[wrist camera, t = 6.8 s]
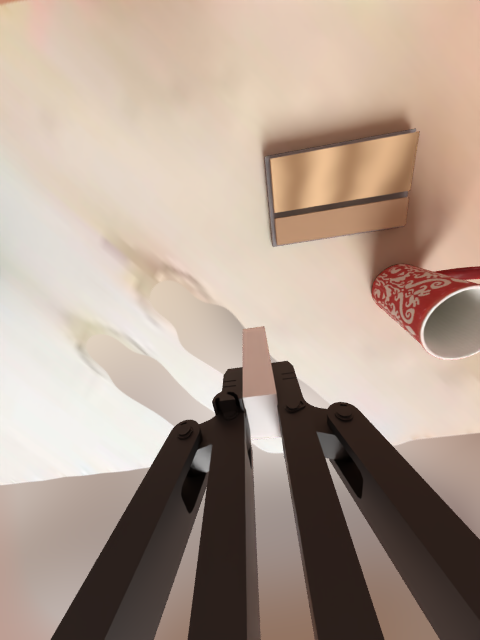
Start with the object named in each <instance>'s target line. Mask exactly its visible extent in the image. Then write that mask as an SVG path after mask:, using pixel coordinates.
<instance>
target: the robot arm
mask: <svg viewBox="0 0 480 640" xmlns="http://www.w3.org/2000/svg"><path fill="white" fill-rule="evenodd" d="M212 403H213V407H214V411H215V414H216V416H215V417H213V418H212V419H210V420H208V421H206V422H204V423H201V424H198V423H197V422H196V421H194V420H185V421H182V422H180V423H179V424H177V425H176V426H175V427H174V428H173V429H172V431H171V432H170V434H169V436H168V438H167V439H166V441H165V443H164V445H163V446H162V448H161V450H160V451H159V453H158V455H157V457H156V458H155V460H154V462H153V464H152V465H151V467H150V469H149V471H148V472H147V474H146V476H145V478H144V479H143V481H142V483H141V484H140V486H139V488H138V490H137V491H136V493H135V495H134V496H133V498H132V500H131V502H130V503H129V505H128V507H127V508H126V510H125V512H124V514H123V515H122V517H121V519H120V521H119V522H118V524H117V526H116V528H115V529H114V531H113V533H112V534H111V536H110V538H109V540H108V541H107V543H106V545H105V547H104V548H103V550H102V552H101V553H100V555H99V557H98V559H97V560H96V562H95V564H94V566H93V568H92V569H91V571H90V572H89V574H88V576H87V578H86V579H85V581H84V583H83V585H82V586H81V588H80V590H79V592H78V593H77V595H76V597H75V598H74V600H73V602H72V604H71V605H70V607H69V609H68V611H67V613H66V614H65V616H64V617H63V619H62V621H61V623H60V624H59V626H58V628H57V630H56V631H55V633H54V635H53V636H52V638H51V640H154V637H155V634H156V631H157V628H158V625H159V623H160V620H161V617H162V614H163V611H164V608H165V605H166V602H167V600H168V596H169V594H170V591H171V588H172V585H173V582H174V579H175V576H176V574H177V570H178V568H179V565H180V562H181V559H182V556H183V553H184V550H185V548H186V544H187V542H188V539H189V536H190V533H191V530H192V527H193V524H194V521H195V519H196V516H197V513H198V510H199V507H200V504H201V501H202V498H203V495H204V492H205V489H206V487H207V491H206V498H205V507H204V514H203V522H202V530H201V538H200V546H199V555H198V562H197V570H196V578H195V586H194V595H193V602H192V610H191V618H190V626H189V634H188V640H261V639H260V618H259V617H260V616H259V593H258V571H257V570H258V569H257V549H256V524H255V500H254V479H253V478H254V477H253V457H252V447H251V440H258V439H267V438H277V437H282V443H283V451H284V458H285V462H286V468H287V474H288V480H289V486H290V492H291V499H292V504H293V511H294V516H295V523H296V529H297V535H298V541H299V546H300V553H301V559H302V565H303V571H304V577H305V583H306V589H307V595H308V600H309V607H310V613H311V619H312V625H313V631H314V637H315V640H384V637H383V634H382V631H381V628H380V625H379V621H378V619H377V615H376V612H375V610H374V606H373V603H372V600H371V597H370V594H369V591H368V588H367V585H366V582H365V579H364V576H363V572H362V569H361V566H360V564H359V560H358V557H357V554H356V551H355V548H354V545H353V542H352V539H351V536H350V533H349V530H348V527H347V524H346V521H345V517H344V515H343V511H342V508H341V505H340V502H339V499H338V496H337V493H336V490H335V487H334V484H333V481H332V478H331V475H330V472H329V469H328V466H327V462H326V459H325V458H329V460H330V462H331V463H332V465H333V467H334V468H335V470H336V472H337V473H338V475H339V476H340V478H341V480H342V481H343V483H344V484H345V486H346V488H347V489H348V491H349V493H350V494H351V496H352V497H353V499H354V501H355V502H356V504H357V506H358V507H359V509H360V511H361V512H362V514H363V515H364V517H365V519H366V520H367V522H368V523H369V525H370V527H371V528H372V530H373V532H374V533H375V535H376V536H377V538H378V540H379V541H380V543H381V544H382V546H383V548H384V549H385V551H386V553H387V554H388V556H389V558H390V559H391V561H392V562H393V564H394V566H395V567H396V569H397V570H398V572H399V574H400V575H401V577H402V579H403V580H404V582H405V584H406V585H407V587H408V588H409V590H410V591H411V593H412V595H413V596H414V598H415V600H416V601H417V603H418V605H419V606H420V608H421V610H422V611H423V613H424V614H425V616H426V618H427V619H428V621H429V622H430V624H431V626H432V627H433V629H434V631H435V632H436V634H437V635H438V637H439V639H440V640H480V539H479V538H478V537H477V536H476V535H475V534H474V533H473V532H472V531H471V530H470V529H469V528H468V527H467V525H465V523H464V522H463V521H462V520H461V519H460V518H459V517H458V516H457V515H456V514H455V513H454V512H453V511H452V509H451V508H450V507H449V506H448V505H447V504H446V503H445V502H444V501H443V500H442V499H441V498H440V497H439V495H438V494H437V493H436V492H435V491H434V490H433V489H432V488H431V487H430V486H429V485H428V484H427V483H426V482H425V481H424V479H422V477H421V476H420V475H419V474H418V473H417V472H416V471H415V470H414V469H413V468H412V466H411V465H409V463H408V462H407V461H406V460H405V459H404V458H403V457H402V456H401V455H400V454H399V453H398V451H397V450H396V449H395V448H394V447H393V446H392V445H391V444H390V443H389V442H388V441H387V440H386V439H385V438H384V436H383V435H382V434H381V433H380V432H379V431H378V430H377V429H376V428H375V427H374V426H373V425H372V424H371V423H370V421H369V420H368V419H367V418H366V417H365V416H364V415H363V414H362V413H361V412H360V411H359V410H358V409H357V408H356V407H355V406H353V405H351V404H348V403H344V402H337V403H334V404H332V405H330V406H329V408H328V409H322V408H317V407H314V406H312V405H310V404H308V403H307V402H306V401H305V400H304V398H303V396H302V393H301V389H300V387H299V383H298V380H297V377H296V374H295V371H294V368H293V365H292V364H290V363H289V362H288V361H283V362H276V363H271V360H270V355H269V349H268V344H267V338H266V333H265V327H264V326H262V327H255V328H248V329H243V367H241V368H233V369H228V370H227V371H226V373H225V374H224V378H223V388H222V392H220V393H218V394H217V395H216V396H215V397H214V399H213V401H212Z"/></svg>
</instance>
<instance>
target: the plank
mask: <svg viewBox="0 0 480 640" xmlns="http://www.w3.org/2000/svg"><path fill="white" fill-rule="evenodd" d="M419 132H420V131H419ZM419 132H413V133H408V134H403V135H397V136H392V137H386V138H381V139H375V140H370V141H365V142H359V143H354V144H348V145H343V146H337V147H332V148H326V149H321V150H316V151H310V152H305V153H299V154H294V155H288V156H283V157H277V158H272V159H270V170H271V183H272V195H273V208H274V213H278V212H284V211H290V210H296V209H302V208H308V207H314V206H320V205H326V204H332V203H338V202H344V201H350V200H356V199H362V198H368V197H374V196H380V195H386V194H392V193H398V192H404V191H410V188H411V182H412V176H413V169H414V163H415V157H416V151H417V144H418V138H419Z"/></svg>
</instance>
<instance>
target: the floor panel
mask: <svg viewBox="0 0 480 640" xmlns="http://www.w3.org/2000/svg"><path fill="white" fill-rule="evenodd" d="M413 132H416V129H411V130H405V131H400V132H394V133H389V134H384V135H378V136H373V137H367V138H362V139H356V140H351V141H346V142H340V143H335V144H329V145H324V146H319V147H313V148H308V149H302V150H297V151H292V152H286V153H281V154H275V155H270V156H265V158H264V159H265V170H266V181H267V192H268V203H269V213H270V224H271V235H272V246H273V247H275V246H282V245H288V244H294V243H301V242H307V241H314V240H320V239H327V238H333V237H340V236H346V235H352V234H359V233H365V232H372V231H378V230H385V229H391V228H398V227H404V226H405V225H406V217H407V209H408V202H409V197H407V196H408V191H404V192H398V193H392V194H386V195H380V196H374V197H368V198H362V199H356V200H350V201H344V202H338V203H332V204H326V205H320V206H314V207H308V208H302V209H296V210H290V211H284V212H278V213H274V208H273V195H272V183H271V170H270V159H272V158H277V157H283V156H288V155H294V154H299V153H305V152H310V151H316V150H321V149H326V148H332V147H337V146H343V145H348V144H354V143H359V142H365V141H370V140H375V139H381V138H386V137H392V136H397V135H403V134H408V133H413Z"/></svg>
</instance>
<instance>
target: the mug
mask: <svg viewBox="0 0 480 640" xmlns="http://www.w3.org/2000/svg"><path fill="white" fill-rule="evenodd" d="M468 279H480V266H479V267H465V268H456V269H449V270H442V271H436V272H432V271H429V270H425V269H421V268H418V267H415V266H411V265H407V264H398V265H394V266H391V267H389V268H387V269H385V270H384V271H383V272H381V273H380V274H379V275H378V277H377V278H376V279H375V281H374V283H373V286H372V297H373V300H374V301H375V303H376V304H377V305H378V306H379V307H380V308H381V309H383V310H384V311H385V312H386V313H387V314H388V315H389V316H390V317H392V318H393V319H394V320H395V321H396V322H397V323H398V324H399V325H400V326H402V327H403V328H404V329H405V330H406V331H407V332H408V333H409V334H410V335H411V336H413V337H414V338H415V339H416V340H417V341H418V342H419V343H420V344H421V345H422V347H423V348H424V349H425V351H427V352H428V353H429V354H430V355H432V356H434V357H436V358H439V359H445V360H455V359H462V358H466V357H469V356H472V355H474V354H476V353H478V352H480V284H476V283H473V282H469V281H465V280H468Z"/></svg>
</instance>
